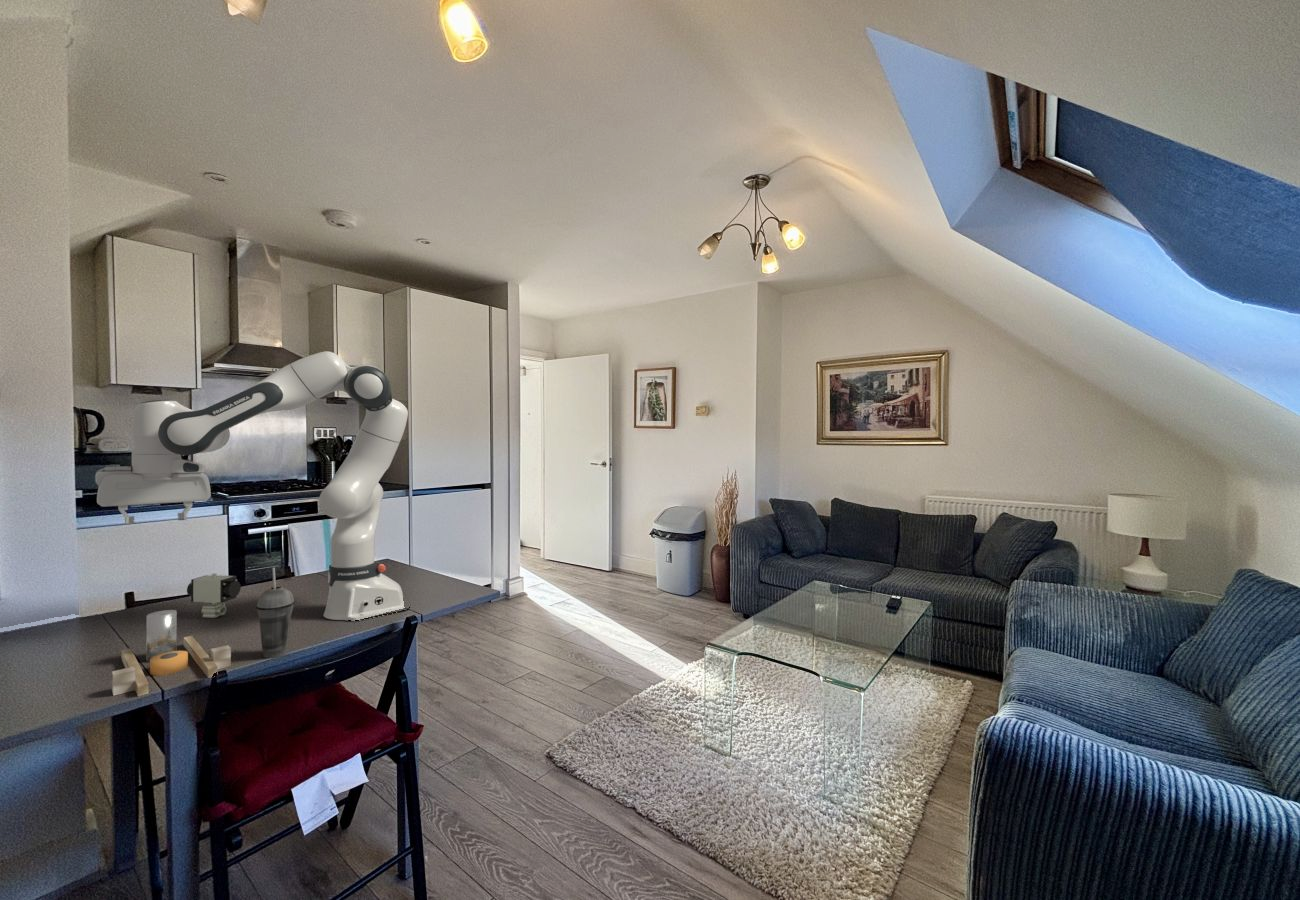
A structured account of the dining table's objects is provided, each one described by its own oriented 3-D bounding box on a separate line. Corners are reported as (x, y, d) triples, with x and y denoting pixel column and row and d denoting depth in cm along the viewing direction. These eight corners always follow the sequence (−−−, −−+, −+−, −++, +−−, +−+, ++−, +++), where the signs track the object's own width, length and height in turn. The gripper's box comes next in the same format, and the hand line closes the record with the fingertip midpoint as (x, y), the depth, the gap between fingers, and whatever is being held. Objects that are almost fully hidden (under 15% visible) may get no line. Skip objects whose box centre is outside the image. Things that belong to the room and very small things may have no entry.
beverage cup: (264, 663, 116) (264, 573, 116) (249, 655, 120) (250, 569, 120) (300, 652, 122) (300, 567, 122) (285, 645, 126) (286, 563, 126)
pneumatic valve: (227, 619, 143) (227, 576, 143) (185, 618, 144) (186, 575, 144) (243, 613, 149) (243, 571, 149) (203, 612, 149) (203, 570, 149)
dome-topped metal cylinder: (178, 651, 122) (178, 608, 122) (174, 658, 118) (174, 614, 118) (148, 655, 119) (148, 612, 119) (144, 663, 115) (144, 618, 115)
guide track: (207, 640, 128) (207, 624, 128) (235, 670, 112) (235, 652, 112) (102, 663, 115) (102, 645, 115) (115, 702, 98) (115, 681, 98)
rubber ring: (189, 661, 116) (189, 647, 116) (185, 671, 112) (185, 657, 112) (152, 668, 113) (152, 653, 113) (147, 678, 108) (147, 663, 108)
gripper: (96, 467, 118) (96, 528, 118) (212, 465, 134) (212, 519, 134) (93, 466, 122) (93, 525, 122) (206, 464, 138) (206, 516, 138)
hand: (156, 522), depth 128 cm, fingers open, 8 cm apart
